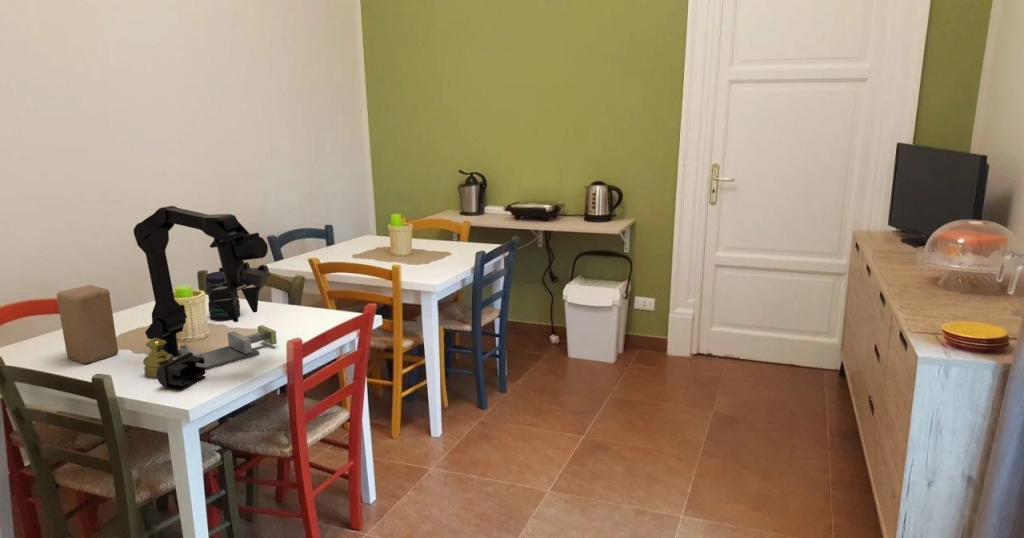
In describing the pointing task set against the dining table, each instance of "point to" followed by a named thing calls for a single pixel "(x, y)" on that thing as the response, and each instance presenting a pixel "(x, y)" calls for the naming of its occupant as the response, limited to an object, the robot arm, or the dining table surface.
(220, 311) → the storage jar
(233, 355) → the vise bed
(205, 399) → the dining table surface
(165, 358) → the olive finial
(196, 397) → the dining table surface
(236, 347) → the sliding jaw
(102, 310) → the wooden block
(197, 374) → the end cap
